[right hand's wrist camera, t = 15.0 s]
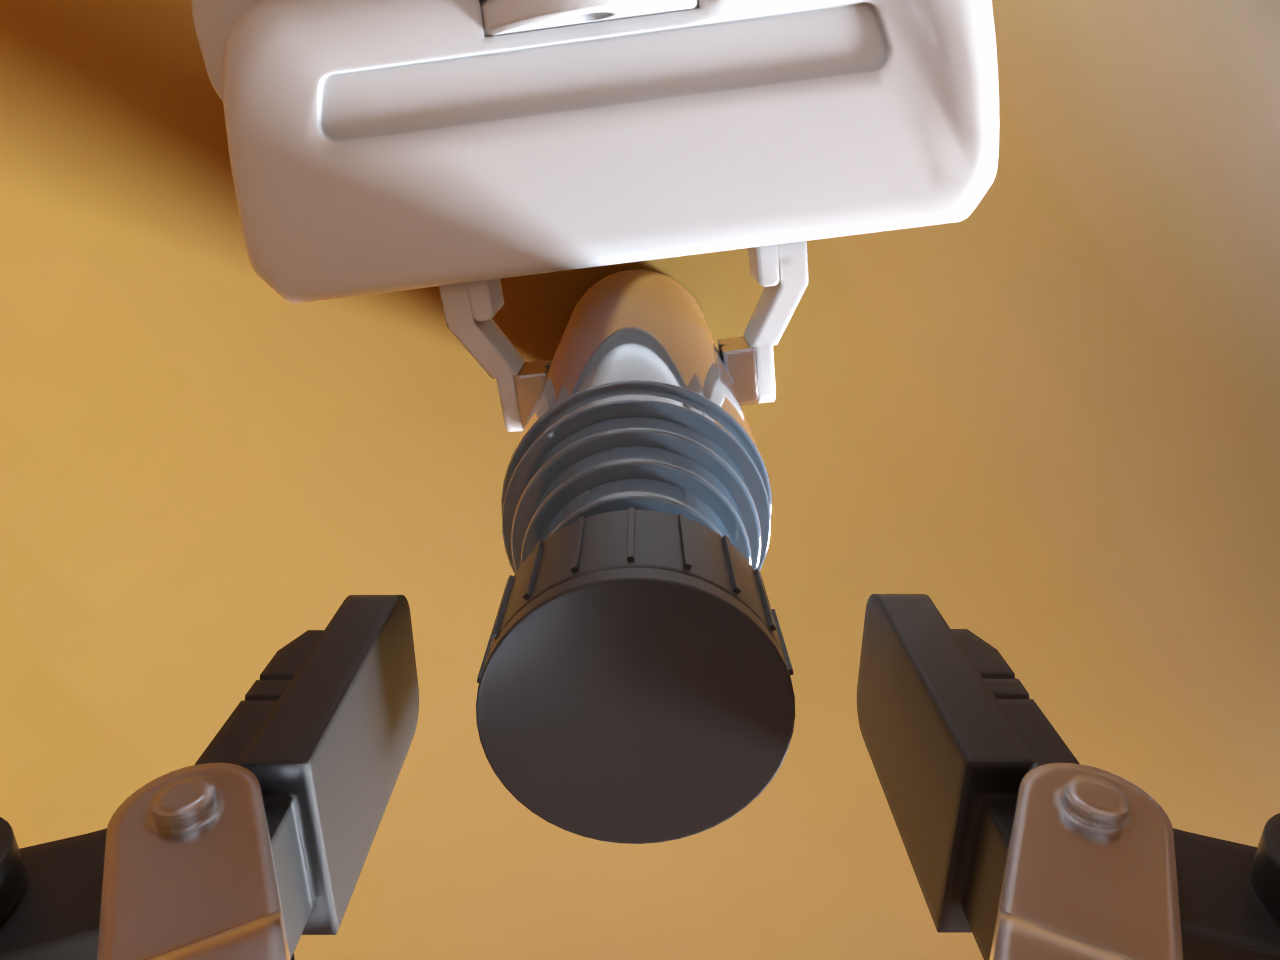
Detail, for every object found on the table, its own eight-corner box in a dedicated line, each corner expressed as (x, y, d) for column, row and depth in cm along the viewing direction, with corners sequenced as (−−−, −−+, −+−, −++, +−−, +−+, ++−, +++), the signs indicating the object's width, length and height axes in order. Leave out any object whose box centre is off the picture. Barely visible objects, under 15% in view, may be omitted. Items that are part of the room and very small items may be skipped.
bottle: (540, 318, 31) (342, 643, 10) (661, 240, 30) (712, 429, 9) (615, 432, 33) (575, 914, 12) (733, 363, 32) (912, 755, 11)
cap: (442, 592, 12) (404, 677, 10) (686, 452, 11) (696, 514, 9) (593, 783, 13) (585, 891, 11) (822, 668, 13) (856, 762, 11)
